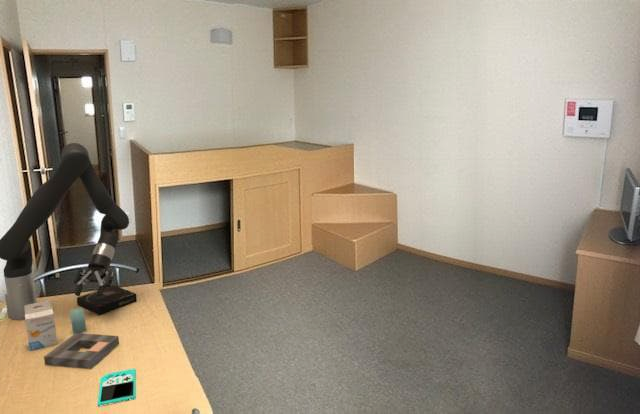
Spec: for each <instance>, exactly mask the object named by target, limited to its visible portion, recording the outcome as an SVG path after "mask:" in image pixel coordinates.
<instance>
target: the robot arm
mask: <svg viewBox="0 0 640 414" xmlns="http://www.w3.org/2000/svg"><path fill="white" fill-rule="evenodd" d="M78 179H80V182H81V183H82V185H83V186H84V189H85V191H86V194H87V195H88V197H89V199H90V201H91V202H92V204H93V205H94V208H95V209H96V210H97V212H98V213H99V214H101V215H104V216H103V217H102V219H101V223H100V230H99V231H100V236H99V238H98V241H97V243H96V246H95V247H94V249H93V252H92V253H91V256H90V259H89V261H88V265H87V268H86V270H84V269H82V268H78V271H77V273H76V275H75V278H74V279H73V284H75V286H76V287H75V290H74V295H75V296H76V297H80V296H81V293H82V290H83V287H84V286H85V285H87V284H89V283H98V285H99V286H98V288H97V290H96V291H97V293H96V296H97V297H101V296H102V294H103V291H104V289H105V288H107V287H110V286H112V283H113V280H114V277H115V273H114V272H113V271H112V270H111V269H109V268H110V266H111V264H112V260H113V258H114V255H115V251H116V247H117V245H118V243H119V242H118V241H119V236H118V235H117V234H116V233H114V231H123V230H125V229H127V228H128V226H129V225H130V218H129V216H128V214H127V213H126V212H125V211H124V210H123V208H121V207H120V206H119V205H118V204H117V203H116V202H115V201H114V200H113V198H112V196H111V194H110V193H109V191H108V189H107V188H106V187H105V185H104V184H103V182H102V180H101V179H100V177H99V175H98V174H97V172H96V170H95V168H94V167H93V164H92V161H91V159H90V155H89V152H88V149H86V147H85V146H83V144H80V143H77V142H70V143H68V144H66V145H64V147H62V151H61V160H60V163H59V164H58V167H56V169H55V171H54V173H53V174H52V176H51V177H49V179H47V180H46V181H45V182H43V184H41V185H40V186H39V187H38V188H37V189H35V191H34V193H33V194H32V195H31V197H30V198H29V200H28V201H27V202H26V204H25V206H24V207H23V209H22V211H21V212H20V214H19V215H18V216H17V218H16V220H15V222H14V223H13V225H12V226H11V227H10V228H9V229H8V230H7V231H6V232H5V234H4V235H3V236H2V237H1V238H0V259H1V260H2V261H3V260H4V261H6V262H5V266H4V268H3V277H4V283H5V289H6V293H5V294H4V298H5V299H4V300H5V305H6V310H7V317H8V318H10V319H11V320H14V321H15V320H16V321H19V320H25V310H24V306H25V305H30V304H35V303H38V302H37V296H36V290H35V281H34V276H33V268H32V267H33V262H34V260H33V259H34V258H33V249H32V242H31V240H30V239H31V237H32V236H33V235H34V233H35V232H36V231H37V230H39V229H40V228H41V227H42V225H44V224H45V223H46V222H47V221H48V219H50V217H51V216H52V215H53V214H54V212H55V211H56V209H57V208H58V207H59V205H60V204H61V202H62V201H63V200H64V198H65V196H66V195H67V193H68V192H69V190H70V188H71V187H72V185H74V183H75V182H76V180H78ZM105 277H106V278H105ZM33 308H38V305H37V306H36V307H33Z"/></svg>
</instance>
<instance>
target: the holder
mask: <svg viewBox="0 0 640 414" xmlns="http://www.w3.org/2000/svg"><path fill="white" fill-rule="evenodd" d="M119 345H120V340H119V335H111V334H109V335H107V334H99V333H97V334H94V333H85V332H82V333H73V335H71V336H70V337H68V338H67V339H66V340H64V341H63V342H62V343H60V344H59V345H58V346H56V347H54V349H52V350H51V351H49V352H48V353H47V354H45V355H44V356H43V359H44V365H45V366H54V367H63V368H64V367H65V368H75V369H77V368H78V369H87V370H89V369H90V370H92V369H93V368H94V367H95V366H96V365H97V364H98V363H99V362H101V361H102V360H103V359H104V358H105V357H106V356H107V355H108V354H109V353H111V352H112V351H113V350H114V349H115V348H116V347H117V346H119ZM80 349H87V350H86V351H81V350H80Z"/></svg>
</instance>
